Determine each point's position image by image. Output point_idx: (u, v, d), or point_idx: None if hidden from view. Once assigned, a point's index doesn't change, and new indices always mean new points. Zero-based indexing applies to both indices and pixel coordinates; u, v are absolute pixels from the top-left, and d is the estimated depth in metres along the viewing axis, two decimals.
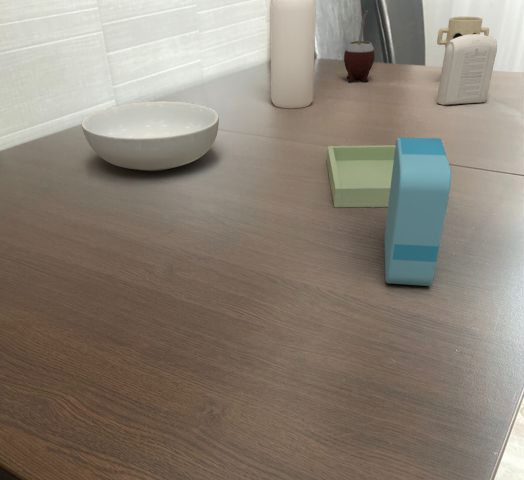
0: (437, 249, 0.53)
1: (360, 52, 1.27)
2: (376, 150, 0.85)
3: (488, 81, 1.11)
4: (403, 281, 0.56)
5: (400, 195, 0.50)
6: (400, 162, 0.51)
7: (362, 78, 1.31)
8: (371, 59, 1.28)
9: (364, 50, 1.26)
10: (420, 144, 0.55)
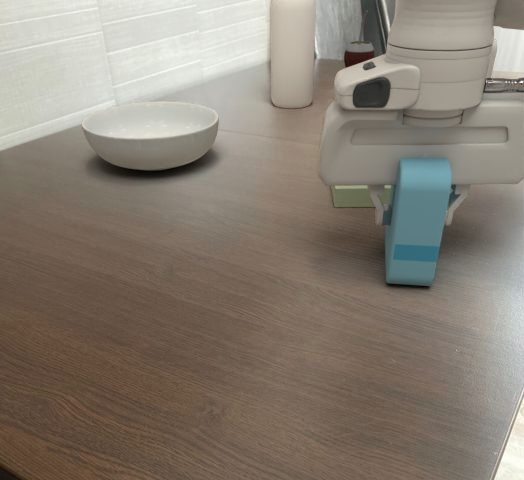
0: (438, 249, 0.53)
1: (360, 52, 1.27)
2: None
3: None
4: (403, 281, 0.55)
5: (401, 195, 0.50)
6: (401, 162, 0.51)
7: None
8: None
9: (364, 50, 1.26)
10: None
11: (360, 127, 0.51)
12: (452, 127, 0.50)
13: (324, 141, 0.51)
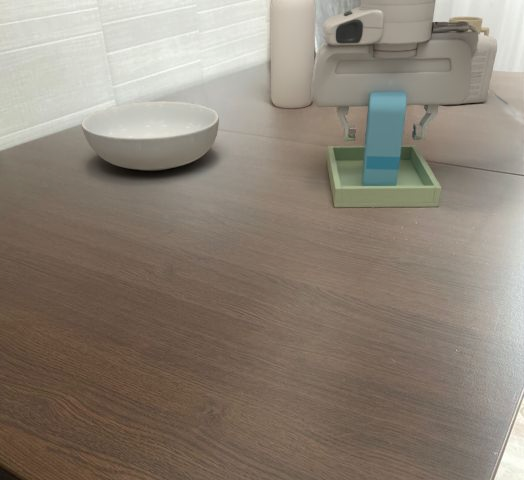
0: (398, 159, 0.72)
1: None
2: None
3: (488, 81, 1.11)
4: None
5: (370, 117, 0.69)
6: (370, 94, 0.70)
7: None
8: None
9: None
10: None
11: (342, 60, 0.69)
12: (409, 59, 0.68)
13: (316, 71, 0.69)
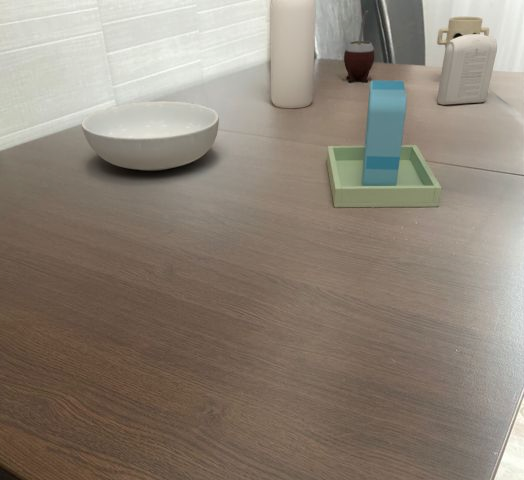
0: (398, 159, 0.72)
1: (360, 52, 1.27)
2: None
3: (488, 81, 1.11)
4: None
5: (370, 117, 0.69)
6: (370, 94, 0.70)
7: (362, 78, 1.31)
8: (371, 59, 1.28)
9: (364, 50, 1.26)
10: (387, 84, 0.74)
11: None
12: None
13: None
